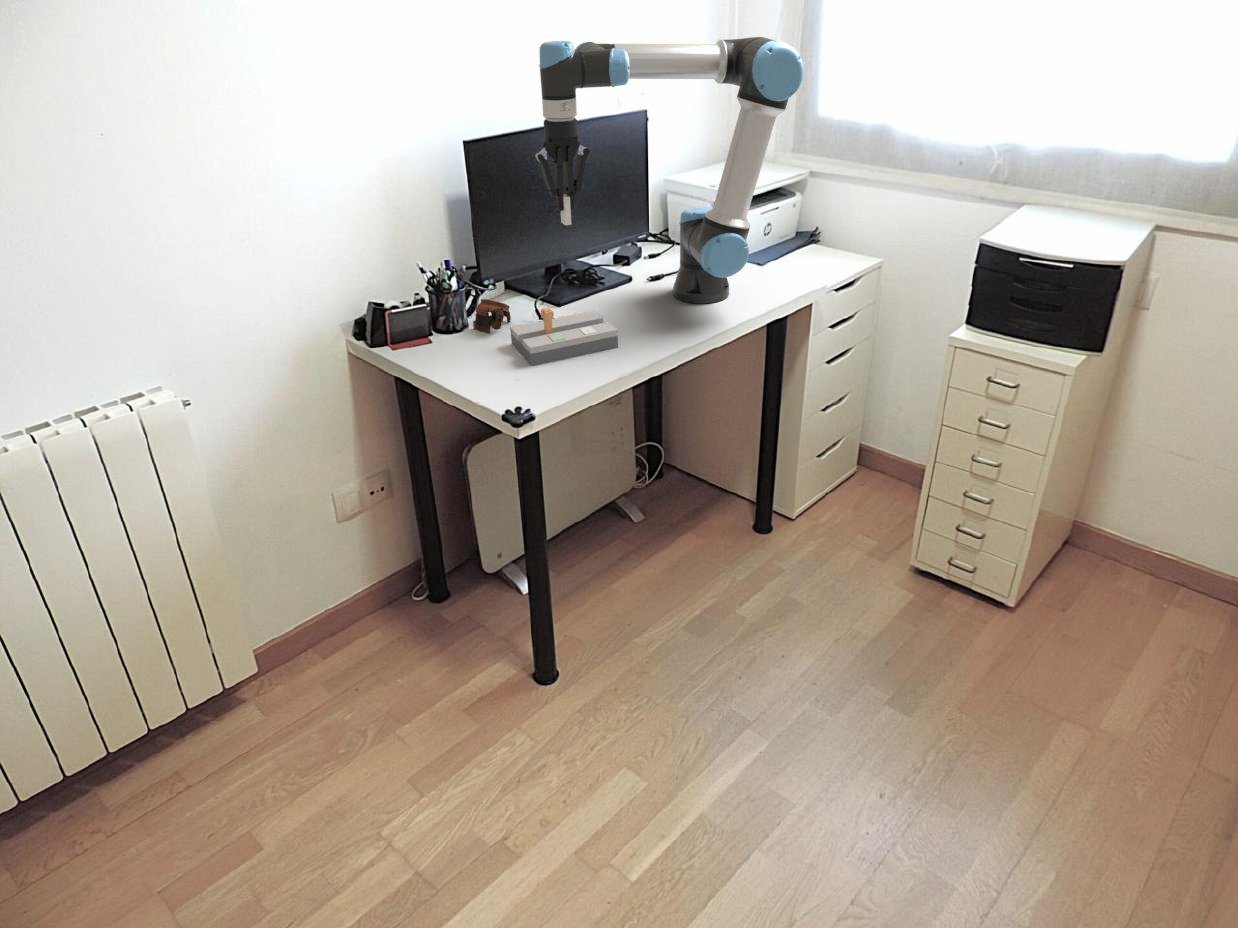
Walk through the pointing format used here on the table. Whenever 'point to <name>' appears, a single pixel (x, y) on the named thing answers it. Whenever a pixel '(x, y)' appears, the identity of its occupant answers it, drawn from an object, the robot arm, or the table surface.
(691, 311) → the table surface
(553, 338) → the box
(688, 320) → the table surface
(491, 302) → the brown arched block
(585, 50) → the robot arm
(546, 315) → the breaker handle
